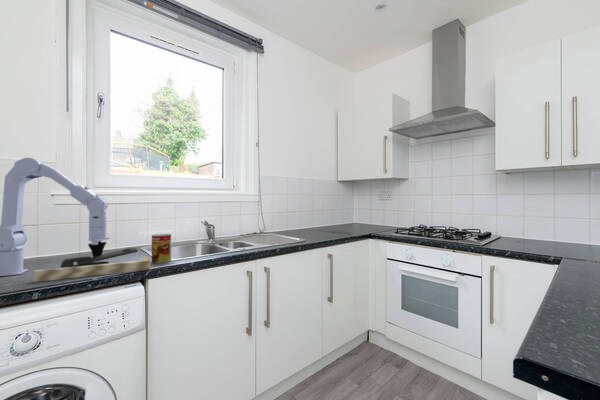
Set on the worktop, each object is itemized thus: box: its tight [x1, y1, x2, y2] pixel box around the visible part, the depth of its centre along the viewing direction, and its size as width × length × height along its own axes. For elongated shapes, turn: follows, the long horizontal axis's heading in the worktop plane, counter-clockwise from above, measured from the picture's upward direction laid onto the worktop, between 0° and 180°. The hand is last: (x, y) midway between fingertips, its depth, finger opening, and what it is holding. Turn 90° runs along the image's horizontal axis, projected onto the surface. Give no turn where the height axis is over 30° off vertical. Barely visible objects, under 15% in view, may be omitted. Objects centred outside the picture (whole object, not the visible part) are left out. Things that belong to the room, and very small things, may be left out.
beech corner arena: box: [33, 254, 151, 283], centre depth 105 cm, size 34×13×4 cm, turn 119°
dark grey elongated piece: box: [59, 247, 138, 268], centre depth 110 cm, size 9×7×25 cm
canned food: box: [151, 233, 172, 264], centre depth 123 cm, size 8×8×12 cm
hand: (97, 260), depth 113 cm, fingers closed
